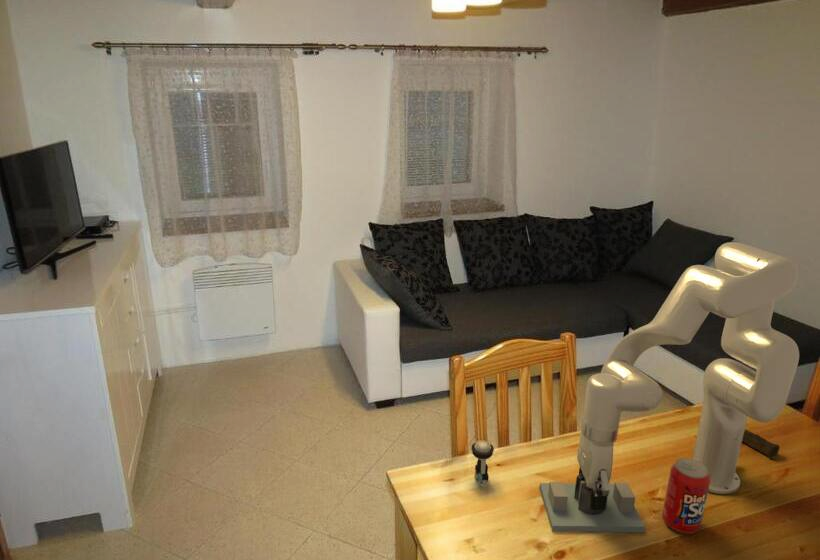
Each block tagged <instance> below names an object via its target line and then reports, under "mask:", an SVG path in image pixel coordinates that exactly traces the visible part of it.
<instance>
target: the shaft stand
mask: <svg viewBox="0 0 820 560" xmlns="http://www.w3.org/2000/svg"><path fill="white" fill-rule="evenodd" d="M596 481H598V480H596ZM583 485H585V486H587V487H589V488H592V489H593V484H589V483H587V481H581V482H580V490H579V498H578V500H577V499H575V498H574V494H575V486H576V482H575V483H574V482H573V483H569V482H568V483H565V482H563V481H549V482H540V483H539V491H540V494H541V497H542V503H543V505H544V509H545V513H546V516H547V519H548V522H549V525H550V530H551V532H588V533H589V532H592V533H595V532H596V533H598V532H599V533H603V532H604V533H645V528H646V526H645V524H644V522H643V520H642V518H641V516H640V514H639V513H638V510H637V508H636V507H635V502H636V495H635V494H634V492H633V490H632V488H631V486H630V484H629V482H621V481H620V482H614V483H609V487H610V491H609V493H608V498H607V505H606V510H605V511H604V512H603V513H602V514H597V515H591V514H586V513H584V512H582V511H580V510H579V509H578V507H579V499H580V491H581V487H582V486H583ZM599 485H600V484H597V489H599Z"/></svg>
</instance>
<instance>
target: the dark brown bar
mask: <svg viewBox="0 0 820 560" xmlns="http://www.w3.org/2000/svg"><path fill="white" fill-rule="evenodd" d="M742 443H744V444H746V445H748V446H749V447H751V448H753V449H755V450H757V451H758V452H759V453H761V454H764V455H765V456H767V458H771V459H773V458H772V457H774V456H775V457H776V456H777V455H778V453H779V451H780V445H779V444H776V443H773V442H771V441H768V440H767V439H765V438H763V436H761V435H759V434H755V433H753V432H751V431H750V430H747V429H746V428H745V431H744V435H743V440H742ZM775 457H774V458H775Z"/></svg>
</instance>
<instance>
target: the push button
mask: <svg viewBox="0 0 820 560" xmlns="http://www.w3.org/2000/svg"><path fill="white" fill-rule="evenodd" d="M470 449H471V451H472V455H473V456H474V457H475V458H477V461H476V464H475V467H474V470H475V471H474V480H475V481H476V480H478V484H479V486H480V485H481V486H482V488H483V489H487V488H488V486H487V485H488V483H487V482H488V481H489V478H490V477H489V473H488V471H489V465H487V459H490V458H491V457H492V456H493V454H494V451H495V449H494V446H493V445H492V444H491V443H490V442H489V441H487V440H485V439H484V440H483V439H481V440H480V439H479V440H476V441H475V442H474V443H473V444H471V448H470Z"/></svg>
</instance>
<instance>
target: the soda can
mask: <svg viewBox="0 0 820 560" xmlns="http://www.w3.org/2000/svg"><path fill="white" fill-rule="evenodd" d="M709 485H710V475H709V474H708V469H707V467H706V466H705V465H704V464H702V463H700V462H699V461H696V460H693V459H692V458H688V457H687V458H686V457H682V458H679V459H676V461H675V463H674V464H672V465H671V467H670V471H669V476H668V481H667V487H666V491H665V497H664V501H663V507H662V513H661V515H662V516H661V517H662V519H663V521H664V522H665V524H666V525H667V526H668V527H670V528H671V529H672V530H674V531H676V532H680V533H682V534H694V533H697V532H698V531H699V530H700V528H701V527H702V522H703V517H704V512H705V507H706V503H707V499H708V494H709V491H708V490H709Z"/></svg>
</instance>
